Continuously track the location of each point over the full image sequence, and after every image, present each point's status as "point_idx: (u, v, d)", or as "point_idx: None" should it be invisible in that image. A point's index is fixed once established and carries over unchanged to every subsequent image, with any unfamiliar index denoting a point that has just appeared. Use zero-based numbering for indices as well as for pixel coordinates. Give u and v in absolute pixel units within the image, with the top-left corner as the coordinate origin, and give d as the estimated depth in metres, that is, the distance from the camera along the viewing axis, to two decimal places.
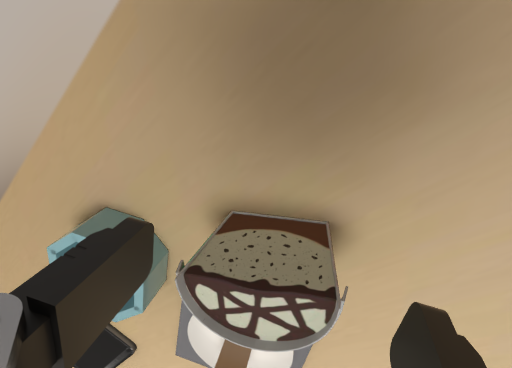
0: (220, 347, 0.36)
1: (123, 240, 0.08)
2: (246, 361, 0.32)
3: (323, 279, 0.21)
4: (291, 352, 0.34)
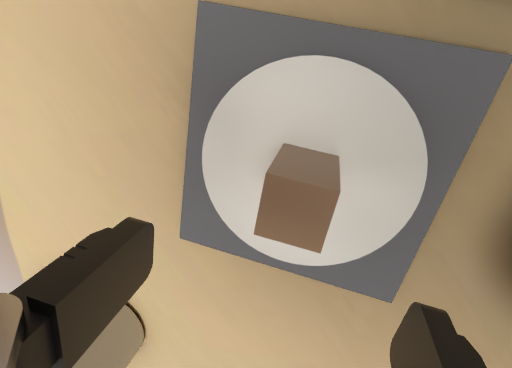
0: (287, 136, 0.17)
1: (123, 240, 0.08)
2: None
3: None
4: (315, 264, 0.20)
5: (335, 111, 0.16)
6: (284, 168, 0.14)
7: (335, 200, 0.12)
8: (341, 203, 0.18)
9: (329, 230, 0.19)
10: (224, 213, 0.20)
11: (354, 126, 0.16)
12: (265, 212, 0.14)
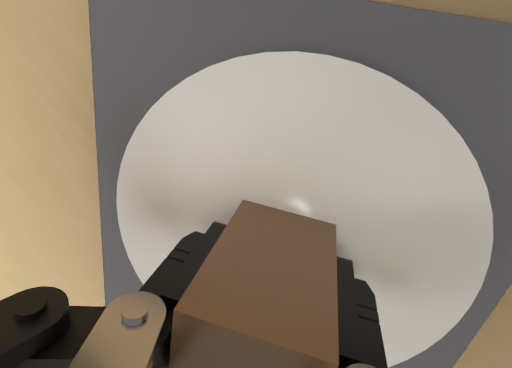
0: (248, 189, 0.10)
1: None
2: None
3: None
4: None
5: (329, 151, 0.09)
6: (224, 282, 0.07)
7: None
8: None
9: None
10: None
11: (362, 178, 0.09)
12: None
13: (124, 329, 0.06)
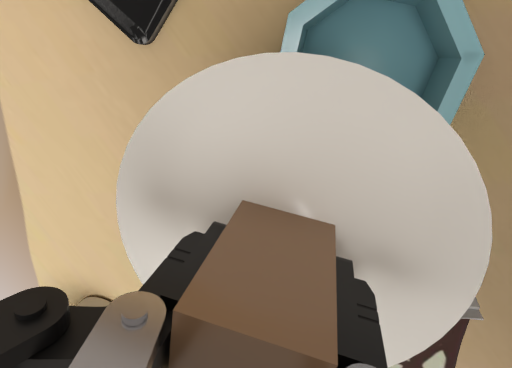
0: (247, 189, 0.10)
1: None
2: None
3: None
4: None
5: (328, 152, 0.09)
6: (224, 282, 0.07)
7: None
8: None
9: None
10: None
11: (362, 178, 0.09)
12: None
13: (124, 329, 0.06)
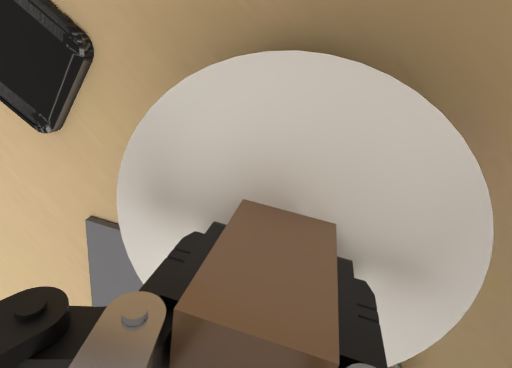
0: (248, 188, 0.10)
1: None
2: None
3: None
4: None
5: (329, 151, 0.09)
6: (224, 281, 0.07)
7: None
8: None
9: None
10: None
11: (363, 177, 0.09)
12: None
13: (124, 329, 0.06)
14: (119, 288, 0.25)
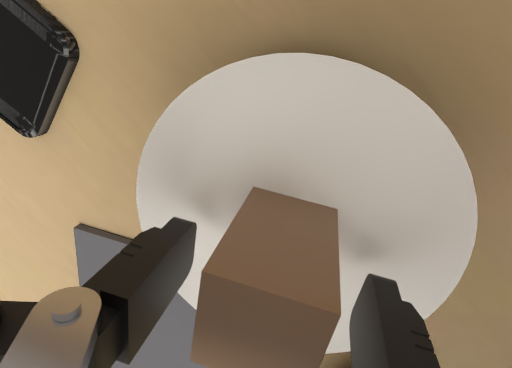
0: (258, 176, 0.11)
1: (174, 238, 0.09)
2: None
3: None
4: None
5: (332, 142, 0.10)
6: (242, 251, 0.08)
7: (331, 327, 0.07)
8: (340, 275, 0.12)
9: None
10: None
11: (362, 166, 0.10)
12: (205, 332, 0.08)
13: (51, 324, 0.05)
14: None
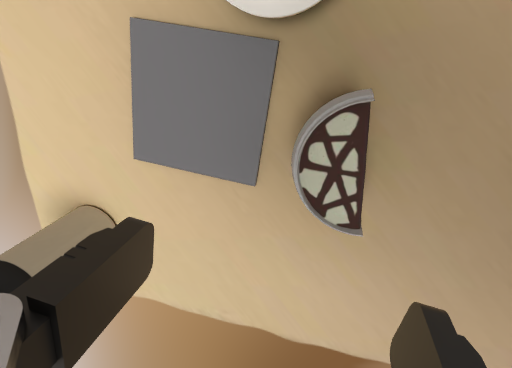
0: None
1: (123, 240, 0.08)
2: None
3: None
4: (288, 12, 0.24)
5: None
6: None
7: None
8: None
9: None
10: None
11: None
12: None
13: None
14: (154, 80, 0.34)
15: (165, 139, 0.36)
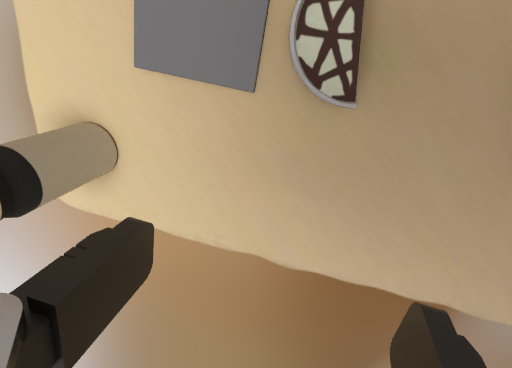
0: None
1: (123, 240, 0.08)
2: None
3: None
4: None
5: None
6: None
7: None
8: None
9: None
10: None
11: None
12: None
13: None
14: None
15: (166, 43, 0.36)
